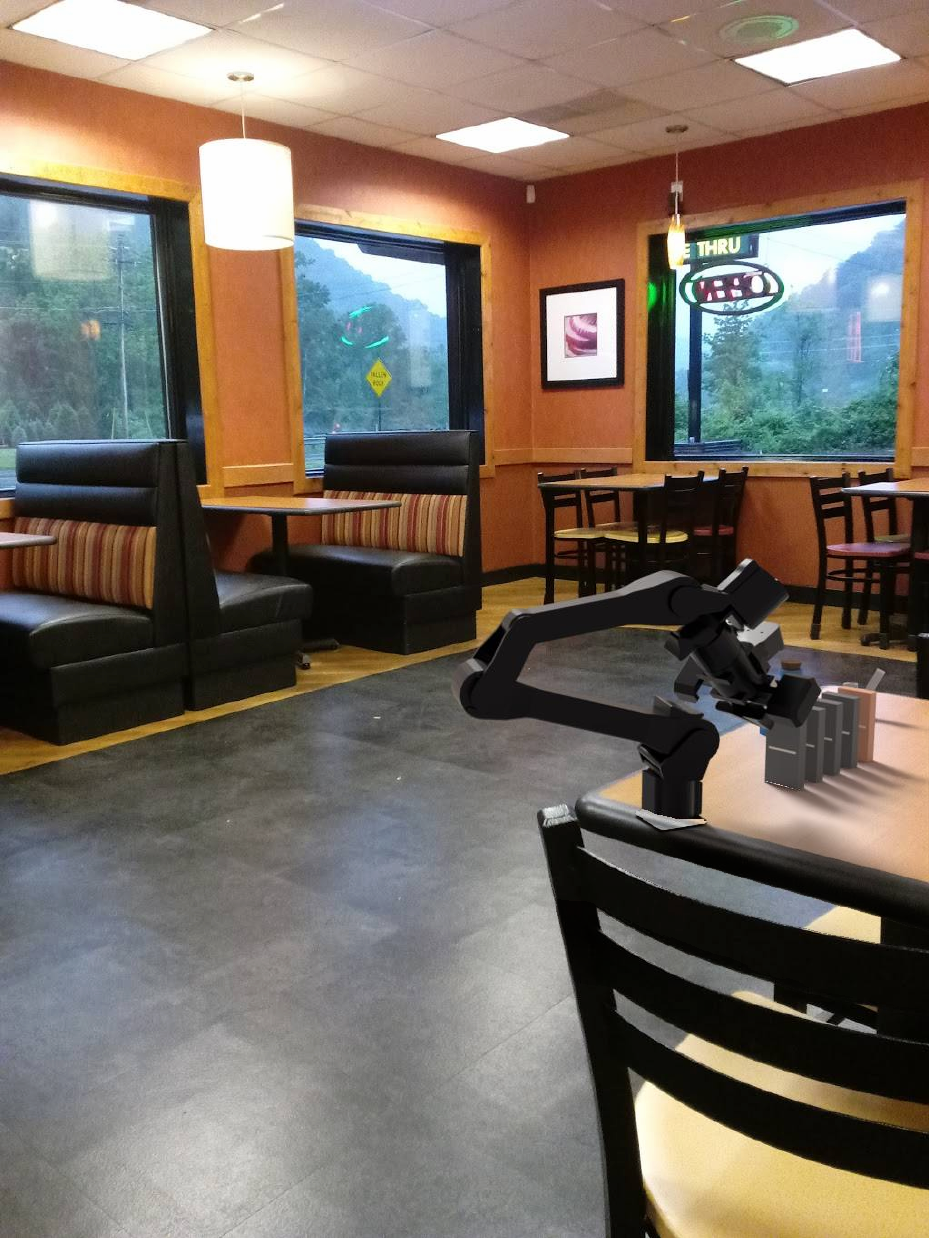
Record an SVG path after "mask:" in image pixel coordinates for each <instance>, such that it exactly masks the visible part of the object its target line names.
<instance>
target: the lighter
mask: <svg viewBox="0 0 929 1238" xmlns="http://www.w3.org/2000/svg"><path fill="white" fill-rule="evenodd" d="M885 674H886V672H885V671H884V670H882V669H880V668H877V669H876V670H875V672H874V674H873V675H872V677H871V678H870V680H869V682H868V683H867V685H866V687H865V688H863V689H864V690H869V691H876V689H877V686H878V685H879V683H880V682H881V680H882V679H883V677H884V675H885ZM842 686H847V687H853V688H858V689H861V688H859V683H858V682H848V681H847V682H844V683H842ZM839 687H840V686H838V688H839ZM838 688H837V689H838ZM836 693H838V691H837V692H836Z"/></svg>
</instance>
